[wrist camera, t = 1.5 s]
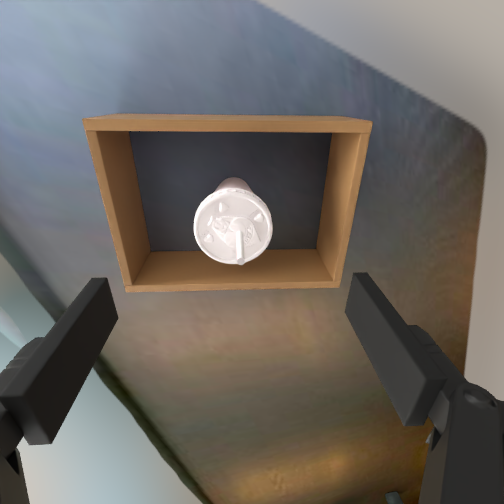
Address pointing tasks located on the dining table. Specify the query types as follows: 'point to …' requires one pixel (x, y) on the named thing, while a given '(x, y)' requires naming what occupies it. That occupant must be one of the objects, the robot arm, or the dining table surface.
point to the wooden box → (197, 262)
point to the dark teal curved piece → (393, 498)
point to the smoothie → (233, 223)
